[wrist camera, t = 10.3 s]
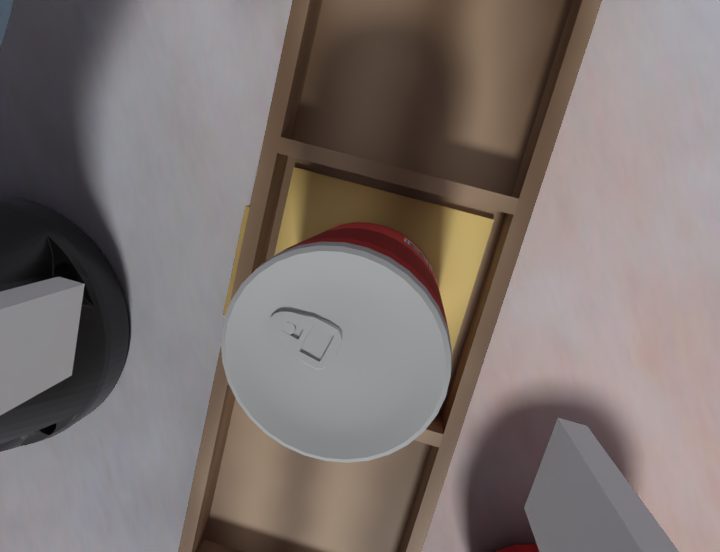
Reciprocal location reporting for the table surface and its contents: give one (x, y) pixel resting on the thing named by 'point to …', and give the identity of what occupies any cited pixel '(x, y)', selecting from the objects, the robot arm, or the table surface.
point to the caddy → (399, 212)
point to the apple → (520, 548)
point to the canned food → (340, 344)
